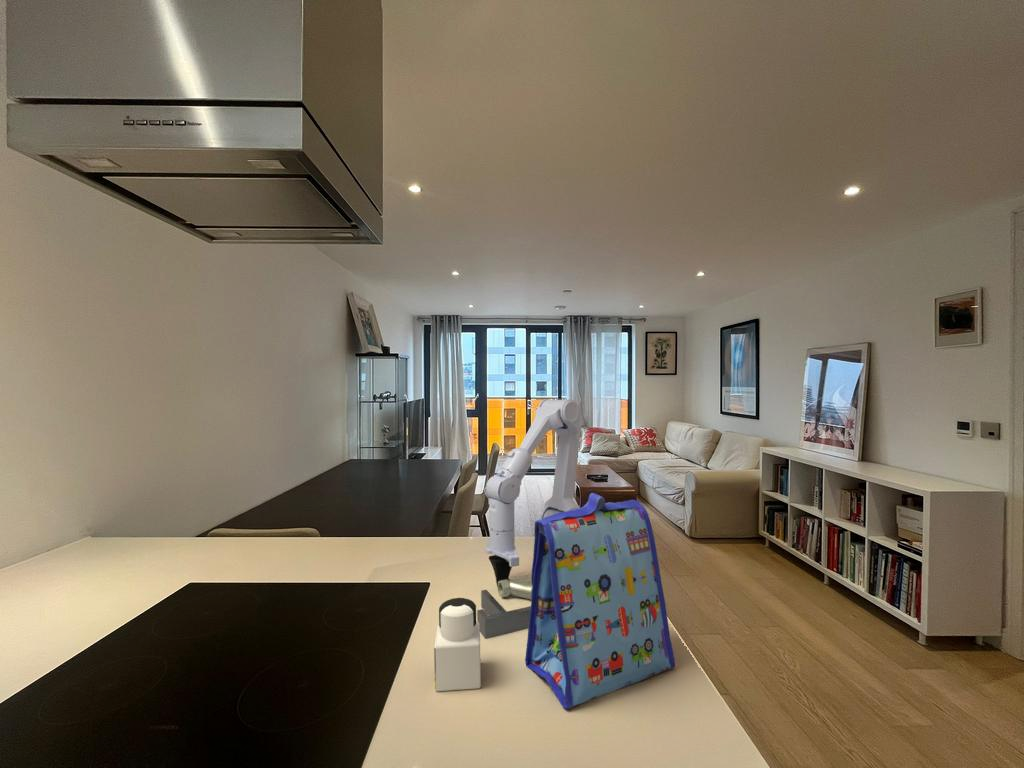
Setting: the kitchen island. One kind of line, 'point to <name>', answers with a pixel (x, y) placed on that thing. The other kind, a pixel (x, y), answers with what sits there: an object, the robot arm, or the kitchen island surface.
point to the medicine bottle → (457, 646)
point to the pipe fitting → (516, 587)
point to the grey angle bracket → (500, 617)
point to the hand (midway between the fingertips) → (502, 587)
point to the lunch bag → (596, 601)
